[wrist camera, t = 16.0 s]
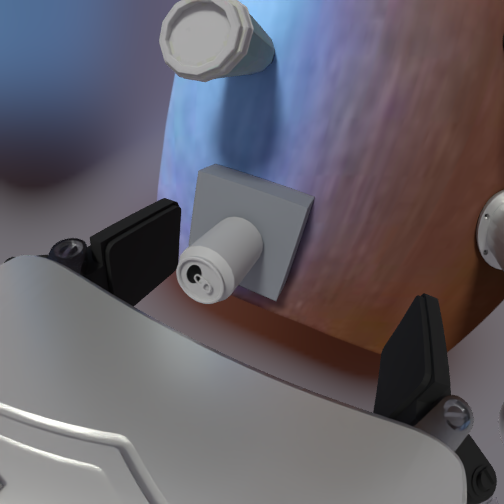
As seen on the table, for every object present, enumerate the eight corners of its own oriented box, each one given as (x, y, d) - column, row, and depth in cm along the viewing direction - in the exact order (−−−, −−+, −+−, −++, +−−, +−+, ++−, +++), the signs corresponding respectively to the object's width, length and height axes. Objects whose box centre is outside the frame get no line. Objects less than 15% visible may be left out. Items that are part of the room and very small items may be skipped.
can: (230, 204, 41) (182, 239, 31) (274, 235, 40) (239, 281, 31) (209, 242, 45) (163, 282, 35) (249, 271, 45) (212, 320, 35)
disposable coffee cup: (288, 87, 35) (244, 76, 23) (217, 89, 39) (150, 87, 26) (288, 18, 30) (245, -21, 18) (217, 25, 34) (152, 2, 21)
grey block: (314, 196, 41) (307, 207, 37) (285, 284, 50) (276, 301, 45) (215, 163, 44) (198, 170, 40) (201, 249, 53) (187, 262, 49)
